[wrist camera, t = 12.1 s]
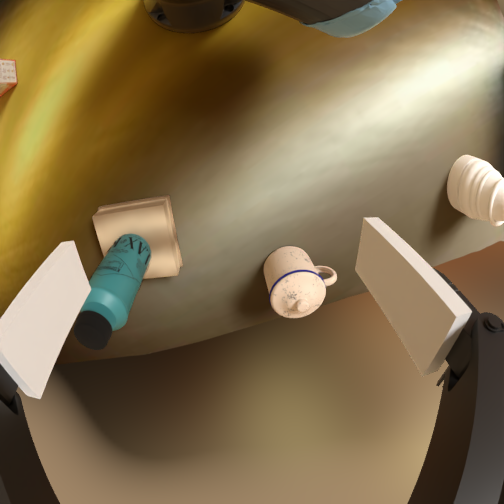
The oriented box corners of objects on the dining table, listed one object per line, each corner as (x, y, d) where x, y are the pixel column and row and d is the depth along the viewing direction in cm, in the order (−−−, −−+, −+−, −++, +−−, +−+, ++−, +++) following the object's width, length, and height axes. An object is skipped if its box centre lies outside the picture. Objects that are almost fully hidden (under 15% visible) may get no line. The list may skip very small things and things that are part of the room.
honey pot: (477, 207, 48) (529, 242, 33) (443, 212, 48) (501, 252, 32) (482, 155, 42) (541, 181, 26) (448, 153, 42) (515, 181, 26)
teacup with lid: (265, 291, 52) (275, 334, 42) (258, 249, 48) (269, 289, 37) (326, 278, 52) (348, 318, 42) (325, 236, 48) (351, 272, 38)
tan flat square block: (99, 206, 41) (90, 215, 37) (169, 194, 41) (164, 202, 38) (118, 270, 47) (111, 283, 43) (182, 264, 47) (180, 276, 44)
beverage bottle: (161, 258, 42) (131, 356, 25) (126, 269, 42) (85, 362, 25) (144, 221, 39) (96, 308, 21) (109, 234, 39) (51, 320, 22)
